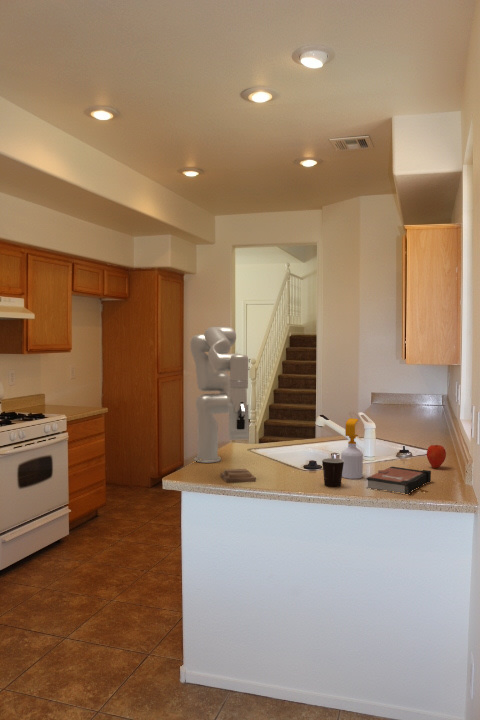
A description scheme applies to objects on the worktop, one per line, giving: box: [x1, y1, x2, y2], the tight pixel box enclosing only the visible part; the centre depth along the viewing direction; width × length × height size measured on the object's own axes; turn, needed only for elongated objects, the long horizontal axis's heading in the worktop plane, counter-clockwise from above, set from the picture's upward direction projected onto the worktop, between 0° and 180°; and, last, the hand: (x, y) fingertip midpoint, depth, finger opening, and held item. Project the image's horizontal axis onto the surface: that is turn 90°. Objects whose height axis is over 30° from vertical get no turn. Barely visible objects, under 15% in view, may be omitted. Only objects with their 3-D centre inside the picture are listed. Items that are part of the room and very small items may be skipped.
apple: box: [426, 444, 447, 469], centre depth 270 cm, size 9×8×11 cm
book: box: [366, 466, 432, 495], centre depth 239 cm, size 26×18×5 cm
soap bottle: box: [340, 417, 364, 480], centre depth 251 cm, size 9×9×25 cm
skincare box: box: [228, 402, 250, 441], centre depth 246 cm, size 8×6×15 cm
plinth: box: [220, 468, 257, 484], centre depth 246 cm, size 12×12×3 cm
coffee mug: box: [321, 457, 344, 488], centre depth 235 cm, size 12×9×10 cm
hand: (238, 427), depth 246 cm, fingers closed on skincare box, 6 cm apart
